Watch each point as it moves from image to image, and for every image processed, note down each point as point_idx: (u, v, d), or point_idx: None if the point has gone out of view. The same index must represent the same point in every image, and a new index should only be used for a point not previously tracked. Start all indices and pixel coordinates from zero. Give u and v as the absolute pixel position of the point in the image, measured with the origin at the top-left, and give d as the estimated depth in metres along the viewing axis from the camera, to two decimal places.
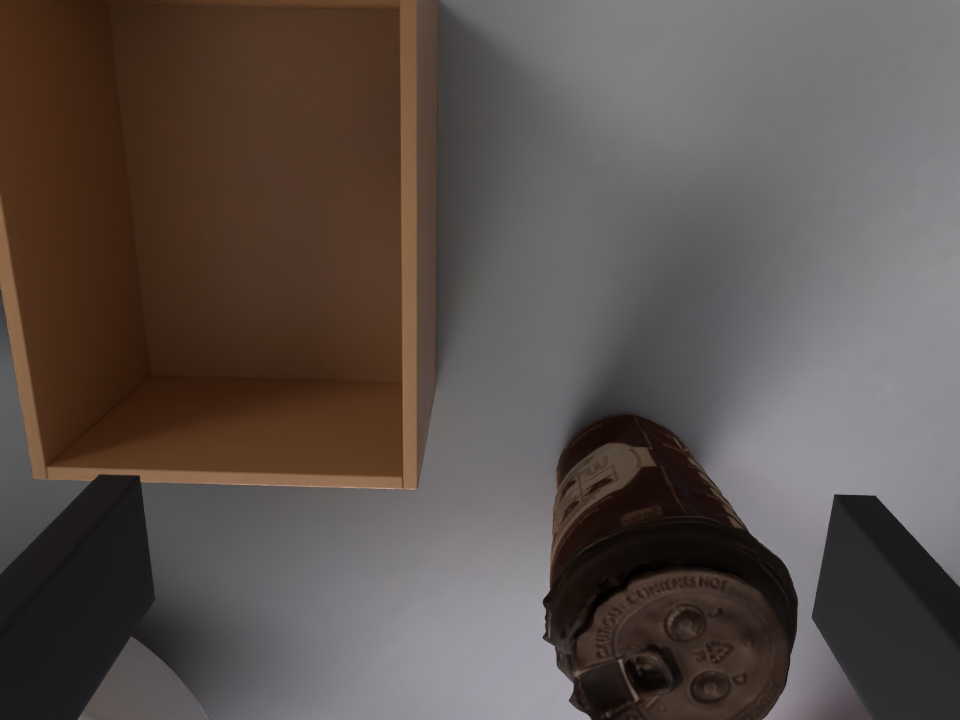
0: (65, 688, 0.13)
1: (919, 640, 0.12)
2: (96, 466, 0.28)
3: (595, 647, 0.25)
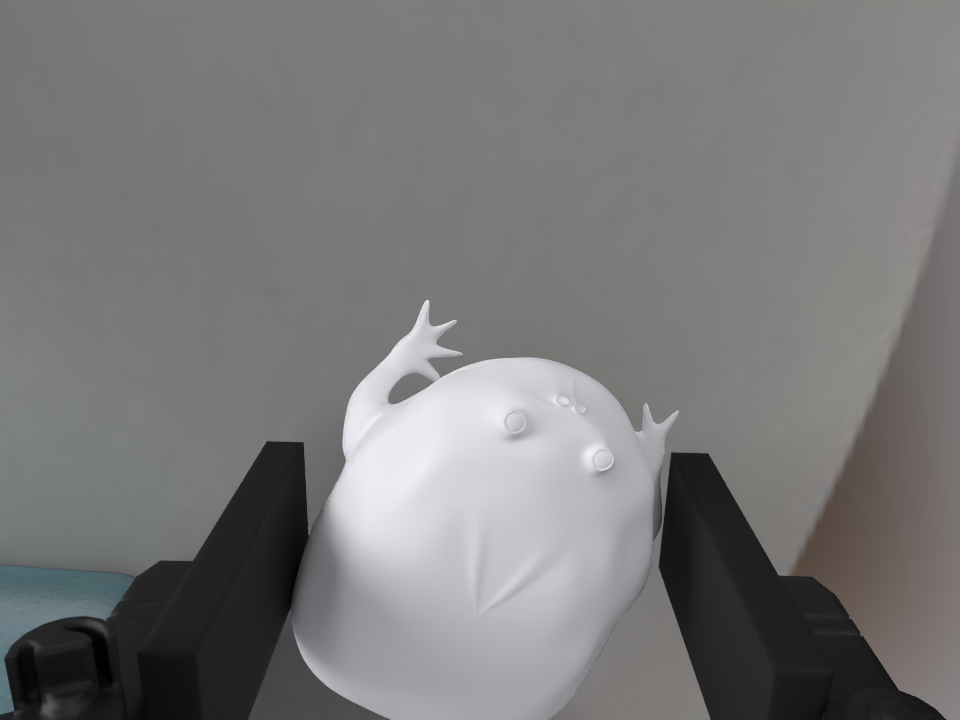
0: (266, 626, 0.14)
1: (709, 572, 0.14)
2: None
3: None
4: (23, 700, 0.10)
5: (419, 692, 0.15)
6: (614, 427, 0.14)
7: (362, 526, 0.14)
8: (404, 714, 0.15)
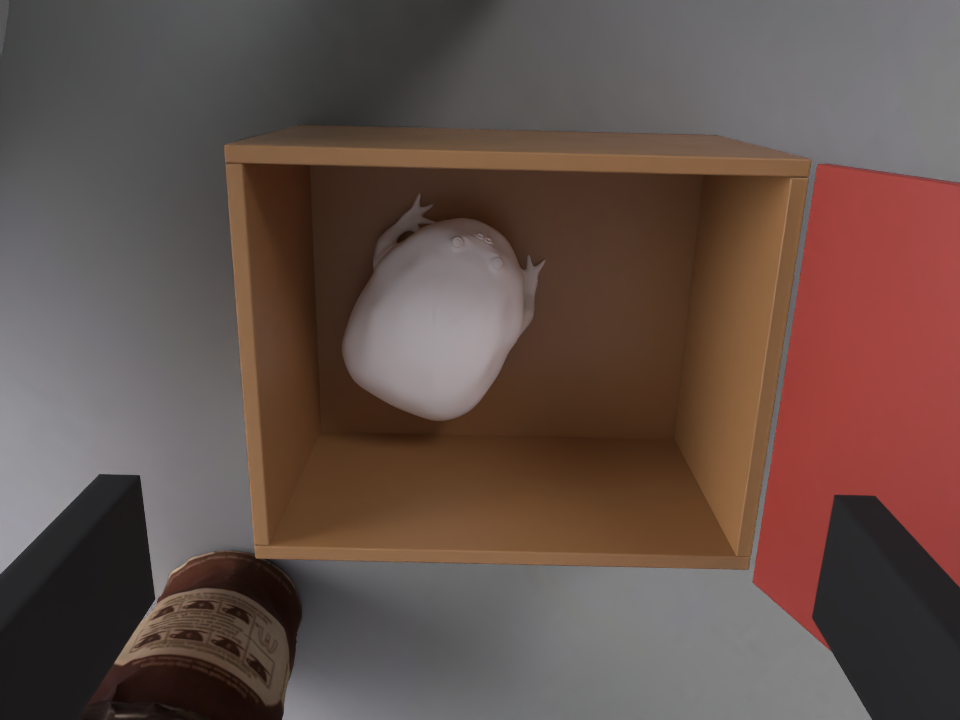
0: (65, 688, 0.13)
1: (919, 640, 0.12)
2: (247, 222, 0.23)
3: None
4: None
5: (405, 378, 0.30)
6: (505, 252, 0.30)
7: (383, 291, 0.29)
8: (397, 393, 0.31)
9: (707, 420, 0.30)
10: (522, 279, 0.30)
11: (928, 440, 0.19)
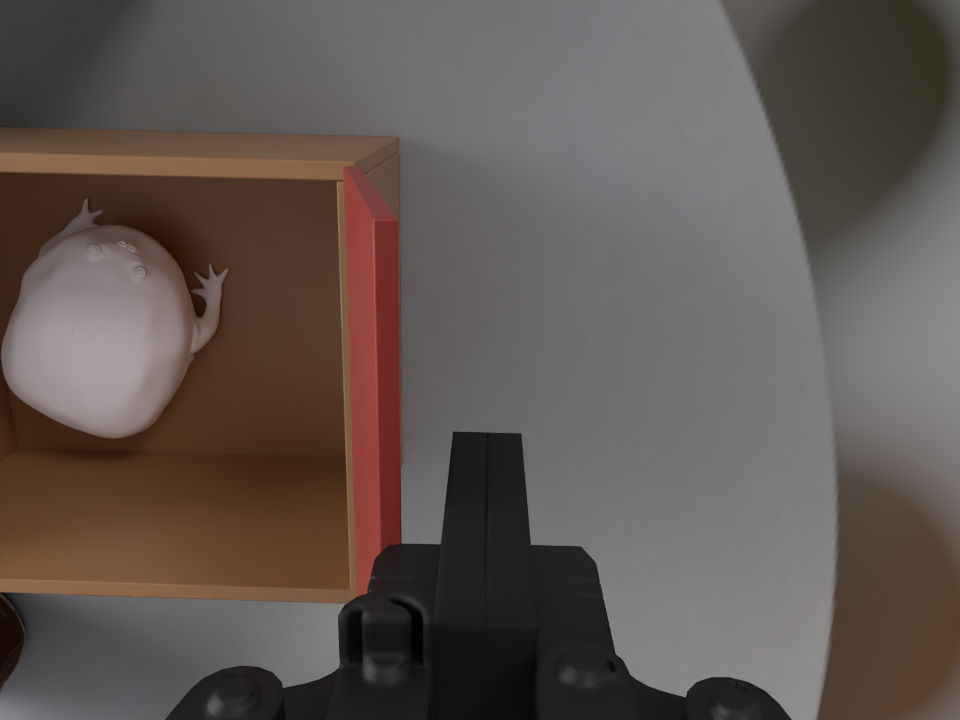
0: None
1: None
2: None
3: None
4: (348, 657, 0.11)
5: (56, 394, 0.29)
6: (154, 260, 0.28)
7: (24, 301, 0.28)
8: (52, 410, 0.29)
9: None
10: (178, 289, 0.28)
11: (365, 476, 0.17)
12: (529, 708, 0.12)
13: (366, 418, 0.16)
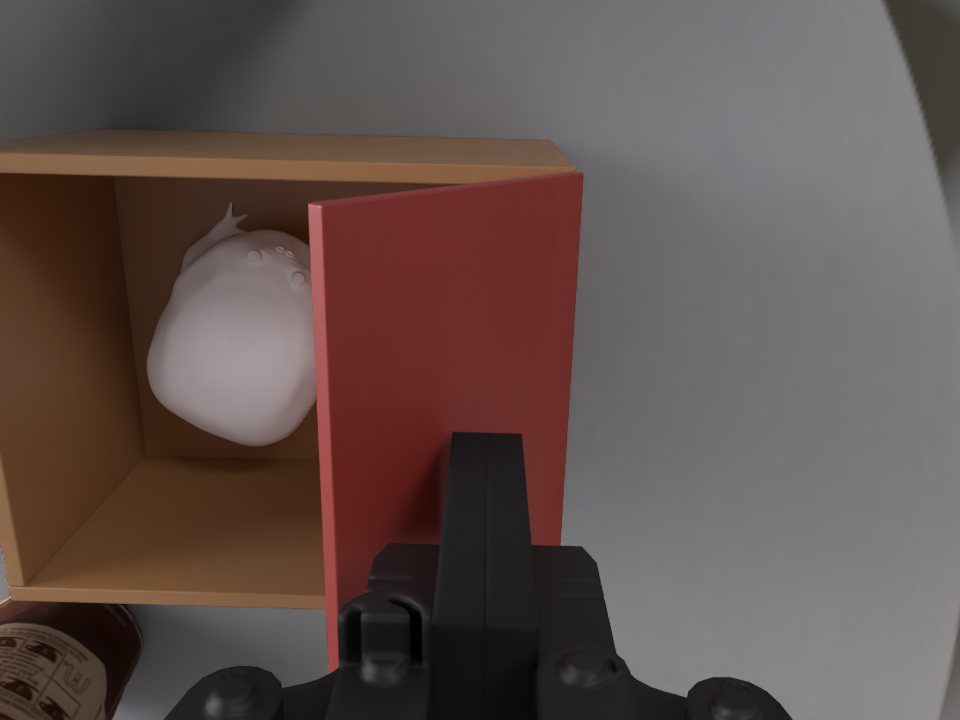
0: None
1: None
2: None
3: None
4: (347, 657, 0.11)
5: (207, 402, 0.28)
6: (310, 266, 0.27)
7: (178, 308, 0.27)
8: (201, 418, 0.29)
9: None
10: None
11: None
12: (530, 708, 0.12)
13: None
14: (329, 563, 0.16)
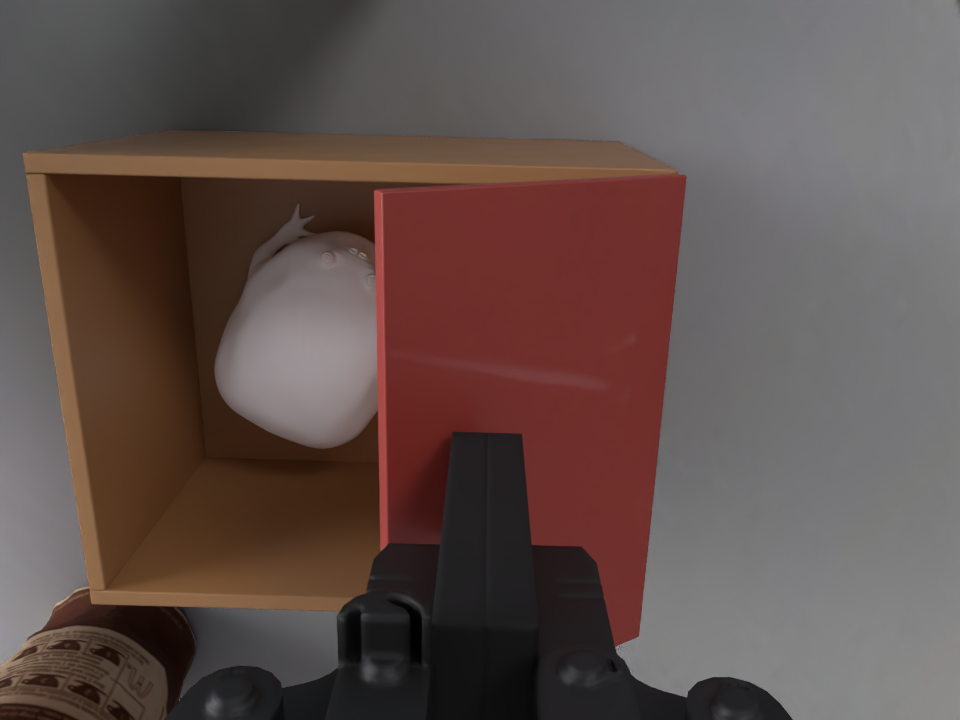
0: None
1: None
2: (56, 238, 0.21)
3: None
4: (347, 657, 0.11)
5: (277, 404, 0.28)
6: None
7: (250, 309, 0.27)
8: (270, 420, 0.28)
9: None
10: None
11: None
12: (530, 708, 0.12)
13: None
14: (382, 518, 0.18)
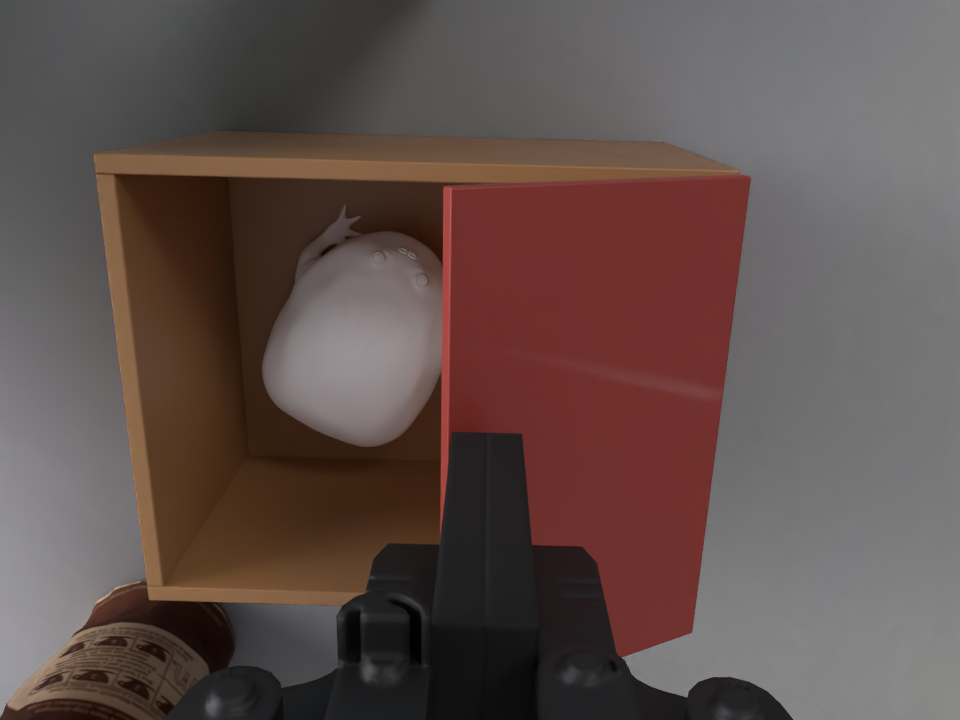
0: None
1: None
2: (124, 237, 0.21)
3: None
4: (346, 657, 0.11)
5: (325, 403, 0.28)
6: (431, 267, 0.28)
7: (300, 309, 0.27)
8: (318, 418, 0.29)
9: None
10: None
11: None
12: (530, 708, 0.12)
13: None
14: (443, 501, 0.18)
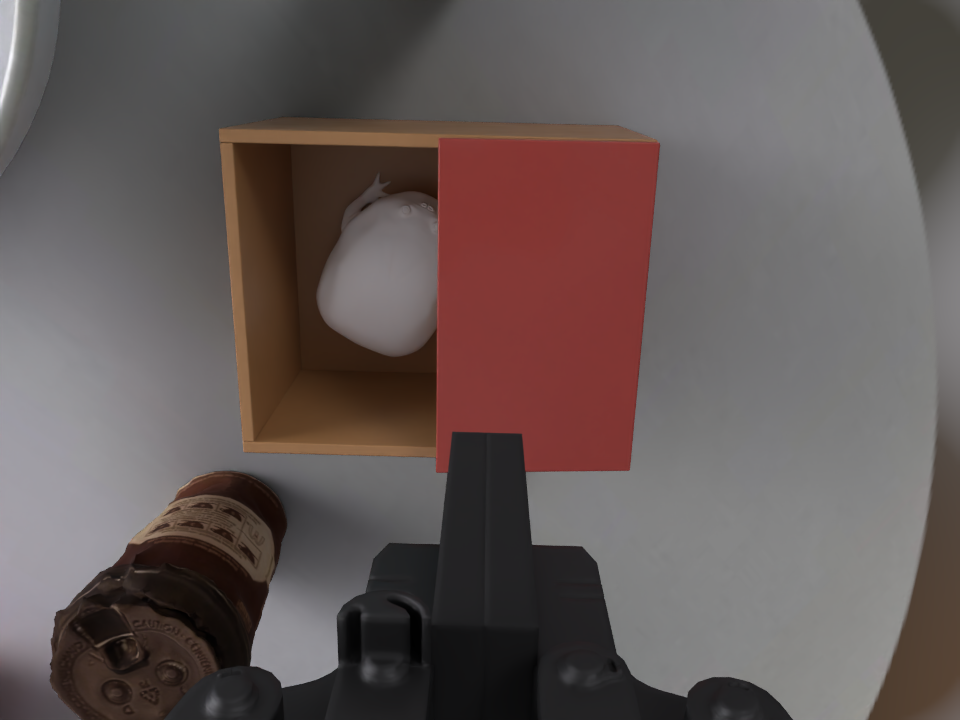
0: None
1: None
2: (236, 187, 0.31)
3: (142, 619, 0.33)
4: (347, 657, 0.11)
5: (366, 319, 0.38)
6: None
7: (347, 248, 0.37)
8: (359, 332, 0.38)
9: None
10: None
11: None
12: (530, 708, 0.12)
13: None
14: (437, 328, 0.31)
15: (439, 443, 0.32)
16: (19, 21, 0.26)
